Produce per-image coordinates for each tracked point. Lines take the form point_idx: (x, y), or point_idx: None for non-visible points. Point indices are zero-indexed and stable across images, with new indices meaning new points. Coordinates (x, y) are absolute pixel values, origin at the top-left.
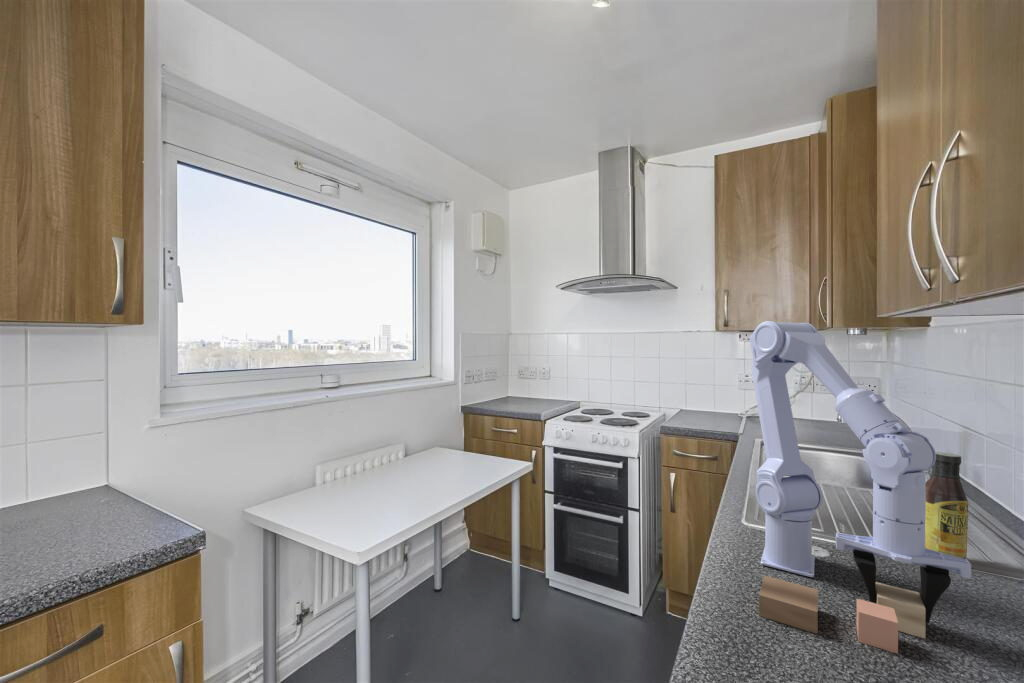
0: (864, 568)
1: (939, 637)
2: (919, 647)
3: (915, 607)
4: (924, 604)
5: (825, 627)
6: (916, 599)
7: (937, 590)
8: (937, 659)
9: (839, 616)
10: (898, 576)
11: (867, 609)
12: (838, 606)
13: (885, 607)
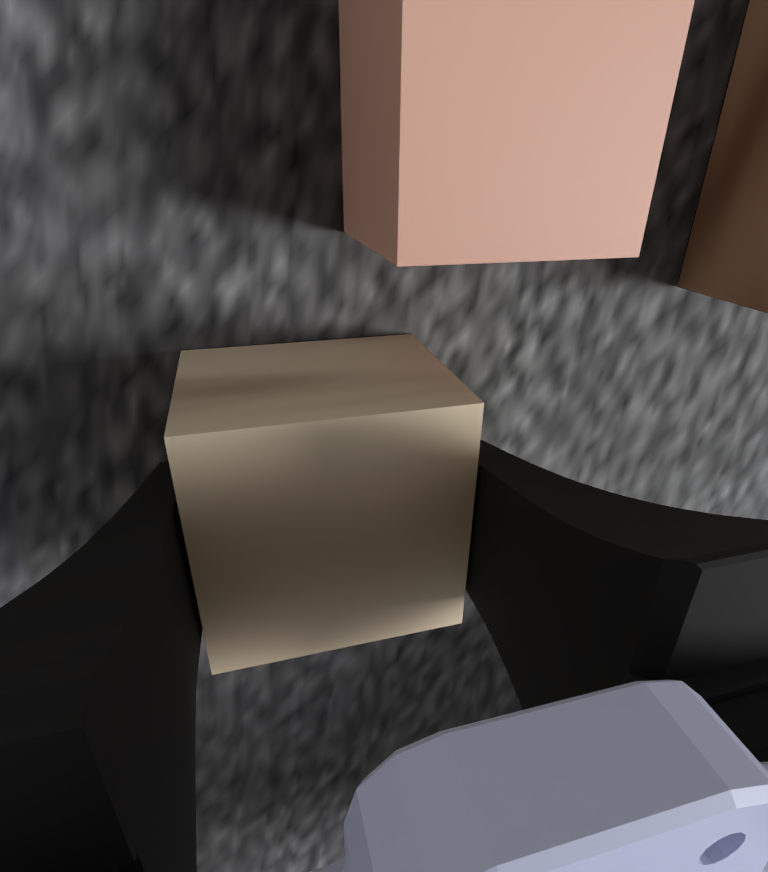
0: (708, 526)
1: (112, 426)
2: (211, 199)
3: (235, 421)
4: (173, 518)
5: (692, 75)
6: (226, 556)
7: (19, 619)
8: (106, 88)
9: (584, 291)
10: (282, 856)
11: (613, 66)
12: (564, 408)
13: (460, 232)
